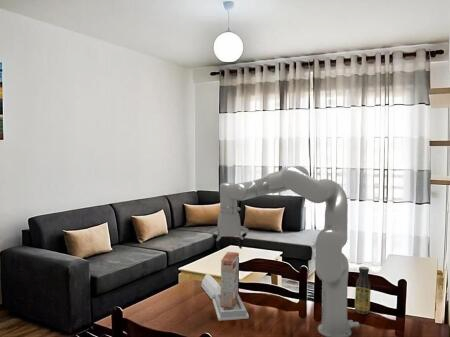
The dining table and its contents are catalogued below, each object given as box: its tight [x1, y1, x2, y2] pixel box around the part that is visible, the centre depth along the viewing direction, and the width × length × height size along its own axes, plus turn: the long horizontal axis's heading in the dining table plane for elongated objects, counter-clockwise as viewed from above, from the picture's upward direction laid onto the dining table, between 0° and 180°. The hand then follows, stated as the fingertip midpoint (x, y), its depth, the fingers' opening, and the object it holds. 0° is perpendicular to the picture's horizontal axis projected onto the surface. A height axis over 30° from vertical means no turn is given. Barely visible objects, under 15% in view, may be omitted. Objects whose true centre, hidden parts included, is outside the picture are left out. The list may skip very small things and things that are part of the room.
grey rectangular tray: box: [212, 293, 250, 322], centre depth 180 cm, size 13×22×4 cm, turn 8°
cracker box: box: [220, 251, 240, 308], centre depth 179 cm, size 14×6×21 cm, turn 169°
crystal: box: [200, 273, 221, 301], centre depth 201 cm, size 7×7×24 cm
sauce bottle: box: [354, 266, 372, 315], centre depth 175 cm, size 7×6×20 cm
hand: (229, 248), depth 178 cm, fingers open, 9 cm apart
